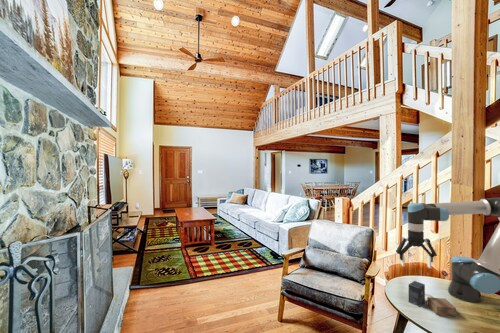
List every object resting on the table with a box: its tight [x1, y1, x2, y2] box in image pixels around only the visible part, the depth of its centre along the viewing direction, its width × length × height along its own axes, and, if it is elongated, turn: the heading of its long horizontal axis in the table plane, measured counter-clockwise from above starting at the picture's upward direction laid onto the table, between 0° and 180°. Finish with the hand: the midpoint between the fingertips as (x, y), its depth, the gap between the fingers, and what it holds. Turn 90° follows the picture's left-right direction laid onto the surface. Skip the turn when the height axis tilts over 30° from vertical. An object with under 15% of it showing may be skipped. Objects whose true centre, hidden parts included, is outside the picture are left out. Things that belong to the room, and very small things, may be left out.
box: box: [408, 280, 426, 307], centre depth 140 cm, size 8×6×11 cm
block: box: [427, 297, 457, 318], centre depth 131 cm, size 9×9×5 cm
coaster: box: [425, 293, 435, 303], centre depth 144 cm, size 9×9×1 cm
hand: (416, 266), depth 140 cm, fingers open, 13 cm apart
